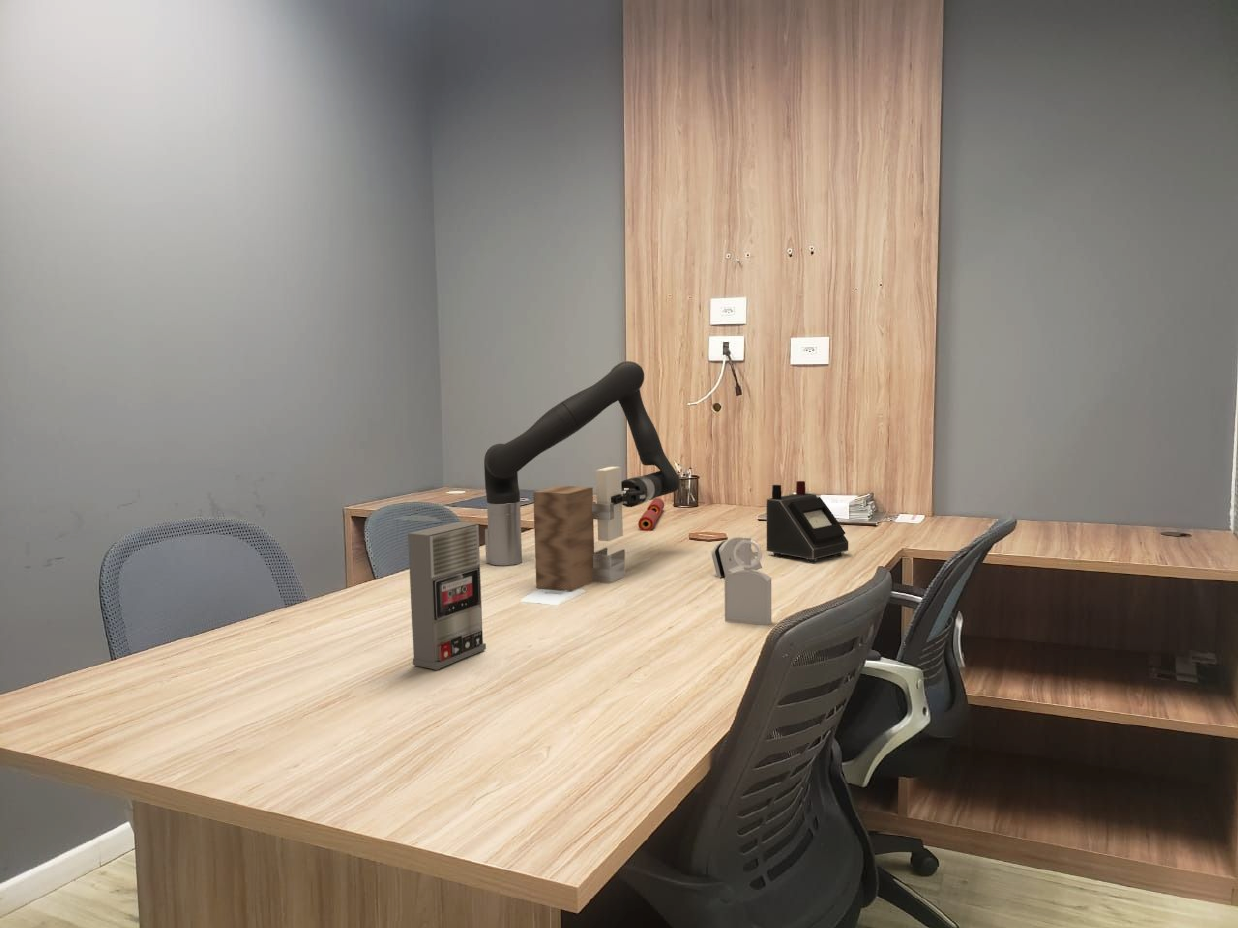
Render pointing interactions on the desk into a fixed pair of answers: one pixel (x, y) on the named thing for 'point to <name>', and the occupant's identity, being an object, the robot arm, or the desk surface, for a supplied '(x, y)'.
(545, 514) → the cabinet
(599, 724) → the desk surface
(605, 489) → the beige rectangular block
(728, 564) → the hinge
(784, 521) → the voltmeter
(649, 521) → the blood vessel
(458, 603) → the cassette tape recorder
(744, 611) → the gravestone
